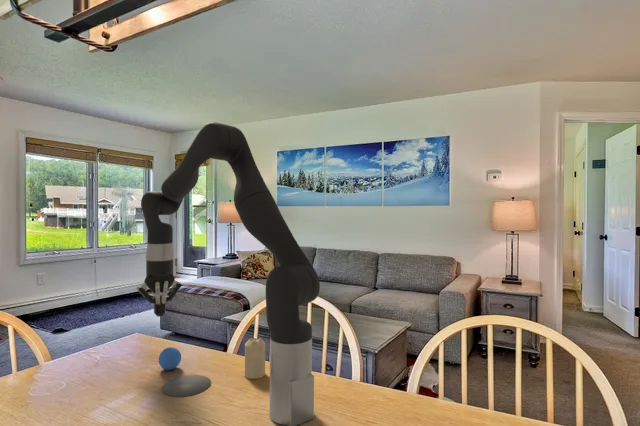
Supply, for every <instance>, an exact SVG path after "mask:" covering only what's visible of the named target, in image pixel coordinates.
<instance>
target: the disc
mask: <svg viewBox="0 0 640 426" xmlns="http://www.w3.org/2000/svg"><path fill="white" fill-rule="evenodd" d="M211 385H212V380H211V379H210V377H208V376H205V375H200V374H186V375H180V376H176V377H173V378H171V379H169V380H167V381H166V382H164V383H163V384H162V386H161V392H162V393H163V394H164V395H166V396H169V397H173V398H175V397H176V398H177V397H179V398H181V397H183V398H184V397H189V396H193V395H194V396H195V395H197V394H201V393H202V392H205V391H206V390H208V389H209V388H210V387H211Z"/></svg>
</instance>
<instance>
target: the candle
mask: <svg viewBox="0 0 640 426" xmlns="http://www.w3.org/2000/svg"><path fill="white" fill-rule="evenodd" d="M265 375H266V342H265V341H264V340H263V339H262V338H260V337H259V338H255V337H253V338H252V337H250V338H249V339H248V340H247V342H245V343H244V377H245V378H246V379H249V380H258V379H261V378H264V377H265Z"/></svg>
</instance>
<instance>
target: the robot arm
mask: <svg viewBox="0 0 640 426" xmlns="http://www.w3.org/2000/svg"><path fill="white" fill-rule="evenodd" d="M250 148H251V147H250V146H249V143H248V140H247V138H246V136H245V135H244V133H243V132H242V130H240V128H238V127H236V126H234V125H233V126H232V125H229V124H225V123H221V122H216V121H214V122H213V121H211V122H208V123H205V124H204V125H203V126H202V127H201V129H200V130H199V132H198V133H197V134H196V135H195V138H194V140H193V141H192V142H191V145H190V146H189V147H188V149H187V151H186V153H185V154H184V155H183V158H182V160H181V161H180V163H179V164H178V166H176V168H175V169H174V170H173V171H172V172H171V174H169V176H167V178H166V179H165V180H164V181H163V182H162V183H161V186H160V187H161V188H160V190H161V191H157V190H156V191H155V190H150V191H146V192H145V193H144V194H143V195H142V197H141V200H140V207H141V211H142V214H143V217H144V221H145V225H146V229H147V233H146V234H147V235H146V236H147V240H146V241H147V242H146V254H145V260H146V263H145V266H146V267H145V269H146V270H145V272H146V273H145V274H146V275H145V276H146V277H145V279H144V280H143V281H144V282H143V283H142V284H141V285H139V286H136V290H137V291H138V293H140V294H141V295H142V297H144V299H145V300H146V301H147V302H149V303H150V304H153V314H154V315H155V316H156V317H163V316H164V314H166V303H167V302H168V301H169V302H170V301H172V300H173V299H174V297H175V295H176V294H177V292H178V291H179V290H180V289H181V288H182V283H181V282H178V281H177V280H176V278H175V275H174V244H173V242H174V241H173V235H174V234H173V230H174V229H173V226H172V224H170V223H167V222H162V221H161V219H160V216H170V215H174V214H176V213H177V212H178V211H179V210H180V207H181V205H182V203H183V200H184V199H185V197H186V196H187V195H188V194H189V193H190V192H191V191H192V190H194V188H195V187H196V186H197V183H198V181H199V177H200V175H199V173H200V167H201V165H203V164H205V162H207V161H208V160H210V159H212V160H219V161H225V162H227V163H228V165H229V166H230V168H231V170H232V171H233V173H234V175H235V180H236V182H235V186H234V193H233V204H234V208H235V210H236V213H238V216H239V219H240V221H241V222H242V224H243V226H244V228H245V229H246V230H247V231H248V233H249V234H250V235H251V236H252V237H253V238H254V239H256V240H257V241H258V242H259V243H261V244H262V245H263V246H264V247H265V248H266V249H268V251H269V252H270V253H271V254H272V255H273V256H274V257H275V259H276V261H277V263H278V264H279V266H275V267H274V268H272V269H271V270H270V271H269V272H268V275H267V277H266V282H265V308H266V309H265V310H266V313H265V314H266V323H267V327H268V329H269V334H270V335H269V418H270V419H271V421H272V422H274V423H276V424H279V425H281V426H282V425H283V426H298V425H301V424H303V423H306V422H308V421H310V420H312V419H315V417H314V415H315V413H314V412H315V375H314V374H313V373H312V371H313V370H312V369H313V368H312V365H313V364H312V362H313V361H312V360H313V359H312V358H313V357H312V356H313V352H312V351H313V348H312V347H313V327H312V324H311V323H310V322H309V321H307V320H305V319H304V320H303V319H301V318H300V308H299V307H300V306H303V305H305V304H309V303H311V302H314V300H316V299H317V298H318V296H319V294H320V291H321V290H320V289H321V287H320V286H321V285H320V280H319V277H318V273H317V271H316V269H315V268H314V266H313V264H312V262H310V260H309V258H308V257H307V255H306V254H305V253H304V251H303V250H302V248H301V247H300V245H299V244H298V241H297V240H296V238H295V237H294V235H293V233H292V231H291V229H290V228H289V226H288V224H287V222H286V221H285V219H284V217H283V214H282V213H281V211H280V209H279V207H278V205H277V203H276V200H275V198H274V197H273V195H272V192H271V191H270V189H269V188H268V186H267V183H266V182H265V180H264V178H263V176H262V174H261V171H260V170H259V168H258V166H257V163H256V161H255V159H254V156H253V154H252V151H251V149H250ZM169 289H170V290H169ZM148 290H149V291H151V292H152V296H151V295H150V294H149V293H148V292H147V291H148Z"/></svg>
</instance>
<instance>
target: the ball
mask: <svg viewBox="0 0 640 426" xmlns="http://www.w3.org/2000/svg"><path fill="white" fill-rule="evenodd" d="M181 361H182V353H181V351H180V350H179V349H178V348H176V347H173V346H171V347H170V346H169V347H166V348H164V349H162V351H161V352H160V353H159V355H158V364H159V367H161V369H164V370H167V371H170V370H173V369H175V368H177V367H178V366H179V365H180V363H181Z"/></svg>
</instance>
